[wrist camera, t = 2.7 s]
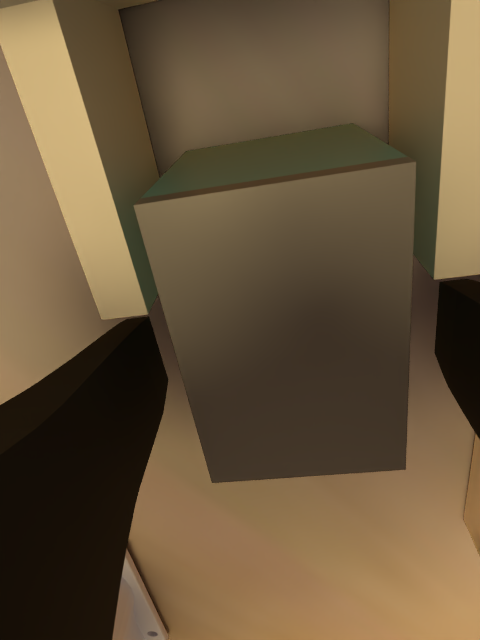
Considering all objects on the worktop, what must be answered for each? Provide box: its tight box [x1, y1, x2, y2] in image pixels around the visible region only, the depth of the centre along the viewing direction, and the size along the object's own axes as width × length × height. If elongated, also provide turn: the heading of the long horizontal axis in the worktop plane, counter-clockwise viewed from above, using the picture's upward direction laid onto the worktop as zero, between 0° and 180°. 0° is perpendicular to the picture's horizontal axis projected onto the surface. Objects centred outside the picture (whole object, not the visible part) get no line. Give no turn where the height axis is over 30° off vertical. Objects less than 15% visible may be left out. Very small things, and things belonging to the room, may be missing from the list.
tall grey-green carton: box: [133, 123, 416, 483], centre depth 10 cm, size 6×4×5 cm, turn 9°
